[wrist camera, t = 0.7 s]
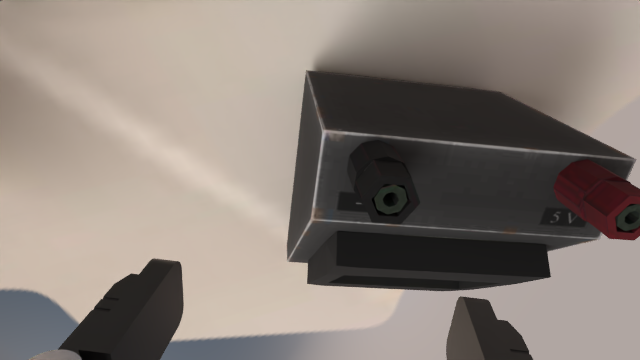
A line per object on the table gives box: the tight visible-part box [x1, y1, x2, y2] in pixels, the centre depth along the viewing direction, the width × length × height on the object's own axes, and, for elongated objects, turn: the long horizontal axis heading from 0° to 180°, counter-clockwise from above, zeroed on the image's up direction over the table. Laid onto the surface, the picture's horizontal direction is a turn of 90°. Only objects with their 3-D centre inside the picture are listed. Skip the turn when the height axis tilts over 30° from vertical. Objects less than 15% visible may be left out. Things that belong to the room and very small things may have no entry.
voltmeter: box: [287, 70, 640, 291], centre depth 30 cm, size 16×16×20 cm
